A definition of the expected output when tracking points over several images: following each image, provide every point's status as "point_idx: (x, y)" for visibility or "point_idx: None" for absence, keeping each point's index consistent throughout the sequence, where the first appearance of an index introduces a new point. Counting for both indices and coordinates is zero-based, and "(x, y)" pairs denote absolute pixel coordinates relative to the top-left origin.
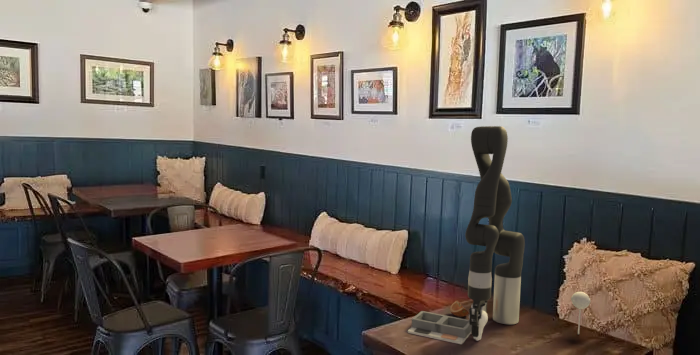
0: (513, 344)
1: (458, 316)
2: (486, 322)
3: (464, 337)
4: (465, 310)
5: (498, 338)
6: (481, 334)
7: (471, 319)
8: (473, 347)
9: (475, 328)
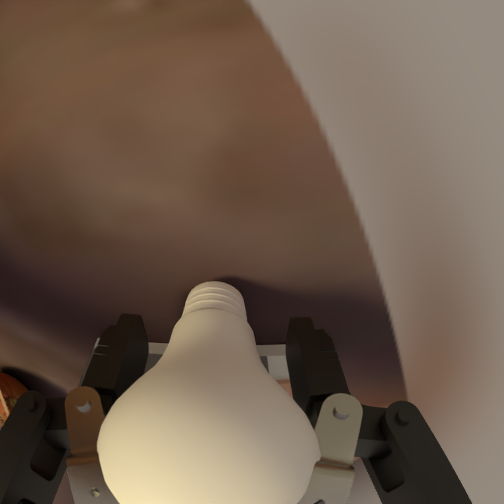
0: (135, 30)
1: (28, 390)
2: (205, 380)
3: (267, 362)
4: (9, 403)
5: (81, 172)
6: (213, 304)
7: (390, 474)
8: (349, 283)
9: (344, 388)
